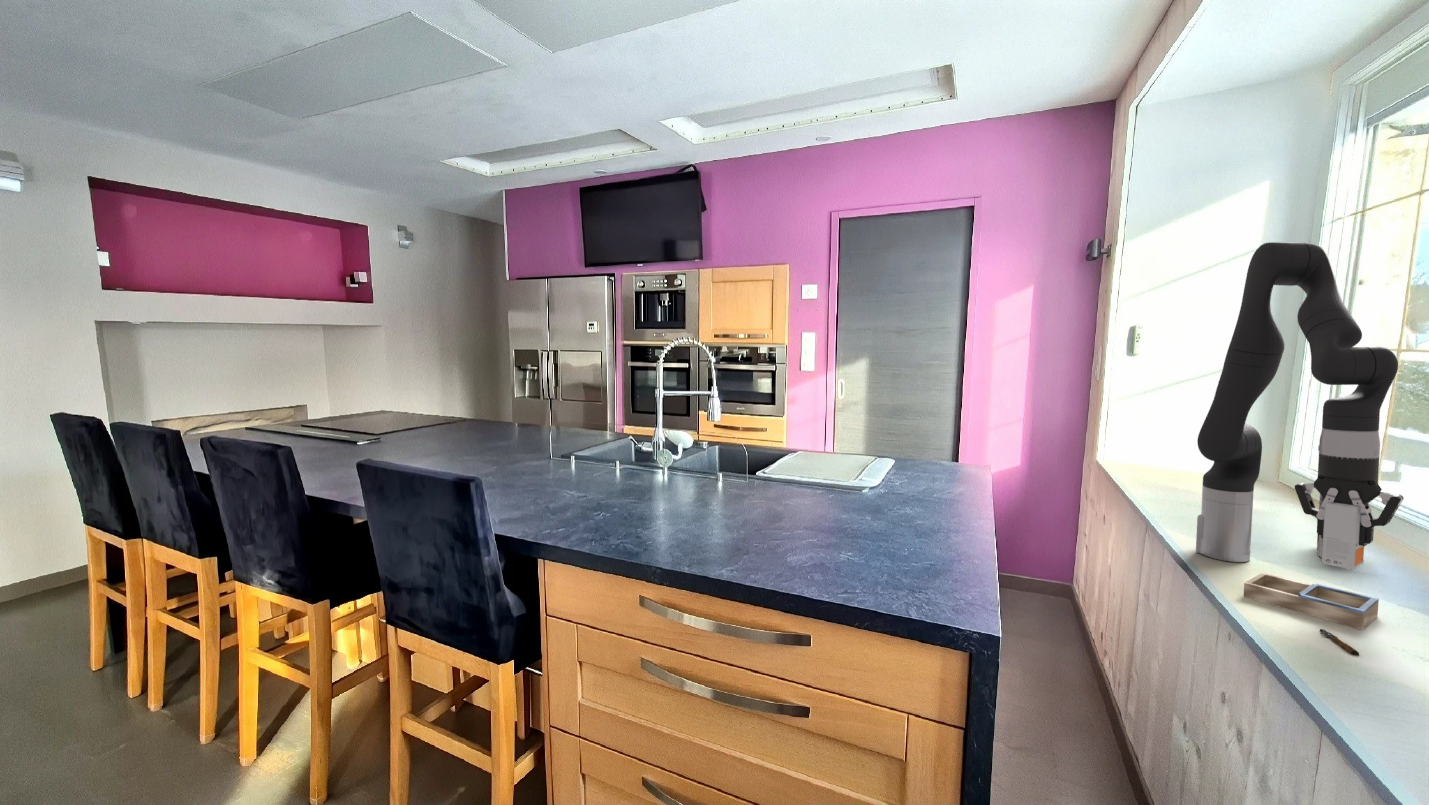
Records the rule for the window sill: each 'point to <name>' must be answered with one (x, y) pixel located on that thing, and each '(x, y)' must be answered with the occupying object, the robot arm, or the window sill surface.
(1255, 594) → the organiser
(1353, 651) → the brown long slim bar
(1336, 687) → the window sill surface
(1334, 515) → the skincare box
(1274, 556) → the window sill surface
